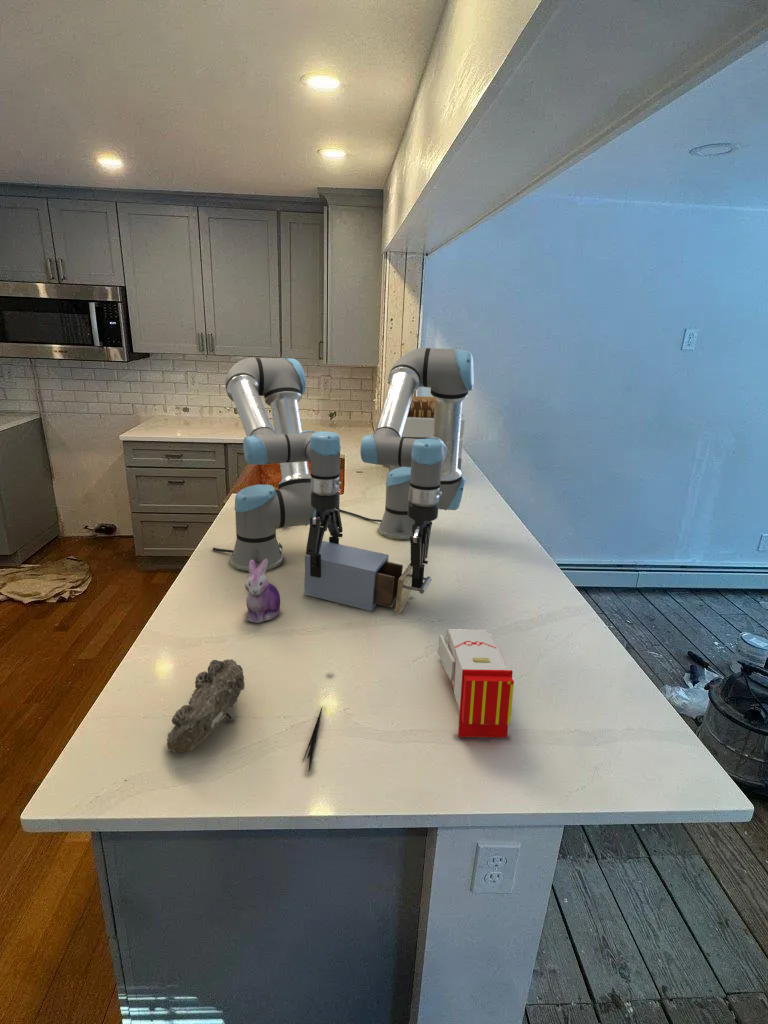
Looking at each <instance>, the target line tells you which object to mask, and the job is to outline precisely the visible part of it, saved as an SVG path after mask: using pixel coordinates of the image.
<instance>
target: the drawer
mask: <svg viewBox="0 0 768 1024" xmlns="http://www.w3.org/2000/svg"><path fill="white" fill-rule="evenodd" d="M403 569H404V565H403V564H401V563H396V562H392V561H388V562H387V561H386V562H385V563H384V564H383V565H382V566H381V568H380V569H379V570H378V571H377V572H376V576H375V589H374V602H373V603H374V604H376V605H379V606H383V607H387V608H392V607H393V605H394V604H395V610H394V612H395V613H398V614H400V613H401V612H402V610H403V608H404V607H405V605H406V604H407V603H408V600H409V599H410V597H411V596H412V591H415V592H418V593H419V594H421V595H423V594H424V593H425V592H426V590H427V589H428V588H429V587H428V586H429V585H430V583H431V581H432V580H433V579H432V576H427V577H426V576H424V578H423V584H422V586H421V587H420V589H419V588H415V587H411V585H412V572H413V567H412V566H410V563H409V564H408V565H407V567H406V568H405V569H404V571H403Z"/></svg>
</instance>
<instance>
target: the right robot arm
mask: <svg viewBox="0 0 768 1024" xmlns="http://www.w3.org/2000/svg"><path fill="white" fill-rule="evenodd" d="M387 377H388V378H387V383H388V388H387V390H386V394H385V397H384V400H383V403H382V406H381V409H380V413H379V416H378V419H377V421H376V425H375V428H374V431H373V433H371V434H364V436H362V439H361V442H360V450H359V451H360V453H359V454H360V458H361V461H362V462H363V463H365V464H371V465H375V466H378V465H379V466H384V465H389V466H402V467H400V468H396V469H393V470H391V471H390V470H389V472H388V473H387V475H386V482H385V504H384V505H385V507H384V508H385V509H384V513H383V515H382V519H376V518H369V517H366V516H362V515H360V514H357V513H353V512H350V511H348V510H343V509H341V508H339V511H340V513H344V514H346V515H350V516H354V517H357V518H360V519H362V520H366V521H370V522H375V523H376V522H378V523H379V525H378V533H379V534H380V535H381V536H382V537H385V538H387V539H389V540H395V541H409V542H410V563H409V564H410V566H412V567H413V572H412V585H411V587H415V588H419V589H420V587H421V586H422V584H423V583H424V580H423V578H424V577H425V566H426V565H428V563H429V560H426V559H428V553H429V547H430V545H429V544H430V538H431V533H432V532H431V531H432V527H433V521H435V520H437V519H438V517H439V516H438V515H439V510H443V511H456V510H458V509H459V508H460V505H461V501H462V498H463V493H464V487H465V483H466V478H465V477H464V476H462V470H461V471H460V470H459V469H458V468H457V466H458V453H459V440H460V439H461V438H460V427H461V418H462V417H461V414H462V415H463V400H465V399H466V398H467V397H468V396H469V392H470V391H473V389H474V386H475V385H474V383H475V381H474V379H475V378H474V377H475V371H474V358H473V354H472V352H470V351H469V350H464V349H458V348H437V347H435V348H434V347H433V348H431V347H418V348H417V347H416V348H414V349H412V350H410V351H407V352H406V353H405V354H403V355H402V356H401V357H399V359H398V360H396V362H394V364H393V365H392V367H391V369H390V371H389V374H388V376H387ZM420 387H421V388H429V389H430V395H431V397H434V398H435V410H434V429H433V437H430V438H427V439H412V438H402V434H403V431H404V427H405V423H406V420H407V416H408V412H409V409H410V405H411V401H412V397H413V396H414V393H415V392H417V391H418V389H419V388H420Z"/></svg>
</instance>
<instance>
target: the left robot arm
mask: <svg viewBox="0 0 768 1024" xmlns="http://www.w3.org/2000/svg"><path fill="white" fill-rule="evenodd" d="M306 381H307V380H306V374H305V371H304V368H303V366H302V364H301V363H300V361H298V360H297V359H296V358H294V357H293V358H291V357H246V358H243V359H241V360H239V361H237V362H235V364H234V365H232V366H231V368H230V369H229V371H228V373H227V374H226V377H225V381H224V386H225V391H226V394H227V397H228V398H229V399H230V401H232V402H233V403H234V406H235V408H236V411H237V414H238V416H239V417H238V418H239V419H240V423H241V424H242V427H243V429H244V433H245V437H244V438H243V442H242V447H243V448H242V450H243V457H244V460H245V462H246V464H248V465H250V466H251V465H253V466H256V465H260V466H265V465H274V464H275V465H276V464H279V469H280V470H279V471H280V476H281V480H280V481H279V482H278V484H277V488H278V489H276V488H275V486H274V485H271V484H260V483H259V484H253V485H249V486H246V487H244V488H241V490H238V491H237V493H236V494H235V496H234V508H233V509H234V511H235V512H234V513H235V533H236V534H235V535H236V539H235V543H234V546H233V549H228V548H227V549H226V548H218V547H213V548H212V551H214V552H220V553H228V554H229V553H230V554H231V557H230V559H231V565H232V567H234V569H237V570H239V571H241V572H247V573H249V563H250V561H251V560H254V561H255V563H256V565H257V567H258V566H259V565H260V564H261V562H262V561H263V560H264V559H268V566H267V569H266V572H267V571H270V570H274V569H276V568H278V567H279V566H280V565H282V563H283V547H284V546H283V545H282V544H281V543H280V542H279V541H278V539H277V529H283V528H284V529H286V528H295V527H301V526H305V527H308V526H309V530H308V535H307V536H308V537H307V543H306V551H305V556H306V555H310V576H313V577H318V578H320V577H321V554H319V552H320V548H321V544H322V541H324V536H325V532H326V531H328V532H329V535H330V536H329V537H328V542H331V543H336V544H340V538H343V536H344V535H343V524H342V517H341V512H340V511H339V509H340V502H341V501H340V500H341V499H340V498H341V497H340V496H341V495H340V492H339V491H340V486H341V485H342V482H341V480H340V476H341V474H340V473H341V450H342V446H341V437H340V435H339V434H338V433H337V432H332V431H324V430H323V431H315V430H311V429H309V430H308V429H307V430H303V427H302V420H301V414H300V408H299V403H300V401H301V400H302V399H303V395H304V394H305V393H306V390H307V389H306V388H307V384H306ZM261 397H263V399H264V403H265V404H266V405H267V406H269V407H270V411H271V416H272V417H271V418H272V421H271V419H270V417H269V414H268V412H267V410H266V408H265V405H264V403H263V401H262V398H261ZM272 423H273V424H272ZM308 462H309V463H310V470H309V464H308Z"/></svg>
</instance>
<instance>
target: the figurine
mask: <svg viewBox="0 0 768 1024" xmlns="http://www.w3.org/2000/svg"><path fill="white" fill-rule="evenodd" d="M267 566H268V559H264V560H263V561H262V562H261V564H260V565H259V566H258V567H257V565H256V563H255V561H254V560H251V561H250V563H249V572H248V573H249V574H248V577H247V579H246V581H245V584H244V589H245V591H246V592H247V596H246V598H245V599H246V600H245V604H246V609H247V621H248V622H251V623H256V624H261V623H263V622H268V621H272V619H275V618H276V617H277V616H279V614H280V612H281V603H282V602H281V595H280V592H279V589H278V588H277V587H276V586H275V585H274V584H273V583H269V581H268V579H267V577H266V573H267V571H266V569H267Z"/></svg>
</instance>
